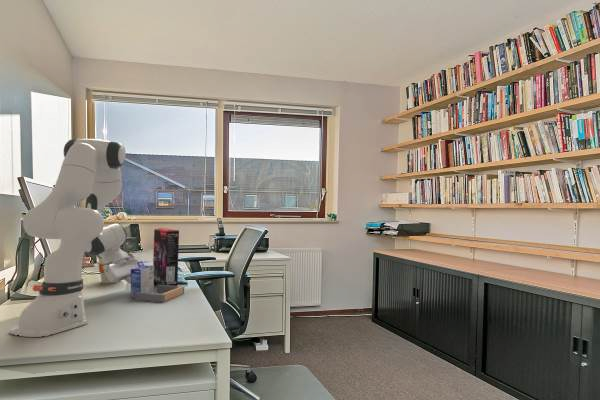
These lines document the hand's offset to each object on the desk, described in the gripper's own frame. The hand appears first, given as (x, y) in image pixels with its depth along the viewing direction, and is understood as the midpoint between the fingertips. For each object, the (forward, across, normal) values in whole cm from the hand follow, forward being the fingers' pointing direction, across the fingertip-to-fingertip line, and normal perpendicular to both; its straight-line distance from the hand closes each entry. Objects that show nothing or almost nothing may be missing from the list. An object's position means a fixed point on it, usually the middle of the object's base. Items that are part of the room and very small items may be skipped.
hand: (135, 284), depth 180 cm
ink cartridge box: (+6, 0, +1) cm, 6 cm away
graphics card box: (+4, +22, +3) cm, 22 cm away
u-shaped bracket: (+12, 0, -6) cm, 13 cm away
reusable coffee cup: (-17, +20, +23) cm, 35 cm away
